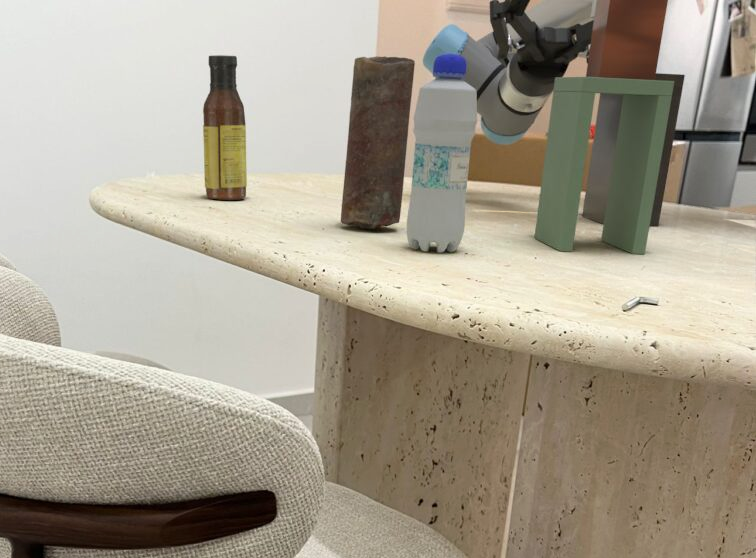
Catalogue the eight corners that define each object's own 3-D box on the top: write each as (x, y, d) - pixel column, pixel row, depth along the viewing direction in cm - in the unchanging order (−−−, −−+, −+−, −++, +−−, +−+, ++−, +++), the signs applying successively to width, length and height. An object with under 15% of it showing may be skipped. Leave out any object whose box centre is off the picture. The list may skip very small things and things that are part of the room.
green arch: (612, 240, 117) (637, 81, 111) (644, 254, 108) (674, 81, 102) (534, 238, 117) (554, 77, 110) (559, 251, 107) (584, 76, 101)
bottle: (448, 256, 100) (469, 52, 93) (392, 249, 103) (407, 51, 96) (473, 250, 105) (494, 56, 98) (418, 242, 109) (435, 54, 101)
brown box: (620, 82, 119) (635, -13, 115) (654, 80, 103) (673, -31, 99) (572, 80, 119) (584, -15, 115) (598, 77, 103) (614, -33, 99)
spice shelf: (633, 217, 142) (657, 75, 135) (658, 226, 134) (685, 74, 127) (582, 215, 142) (603, 72, 134) (603, 224, 133) (627, 71, 126)
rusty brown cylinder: (411, 229, 119) (425, 57, 112) (383, 235, 113) (397, 54, 106) (358, 222, 123) (369, 56, 115) (329, 227, 117) (338, 52, 110)
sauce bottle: (251, 198, 144) (254, 57, 137) (239, 202, 138) (241, 55, 131) (210, 195, 145) (211, 55, 138) (196, 199, 139) (197, 53, 132)
